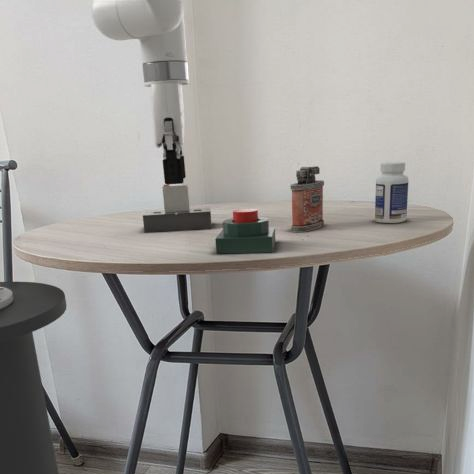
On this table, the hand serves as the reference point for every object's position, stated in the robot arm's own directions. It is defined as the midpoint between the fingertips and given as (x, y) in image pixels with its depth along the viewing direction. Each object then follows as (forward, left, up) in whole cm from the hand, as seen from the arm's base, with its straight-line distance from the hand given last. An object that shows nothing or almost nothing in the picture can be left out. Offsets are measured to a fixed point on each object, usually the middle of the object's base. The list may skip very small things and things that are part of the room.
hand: (175, 181), depth 104 cm
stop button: (-9, -24, -5) cm, 26 cm away
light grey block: (0, 0, -5) cm, 5 cm away
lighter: (+9, -22, -8) cm, 25 cm away
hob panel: (0, 0, -8) cm, 8 cm away
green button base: (-9, -24, -8) cm, 27 cm away
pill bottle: (+21, -31, -8) cm, 39 cm away
